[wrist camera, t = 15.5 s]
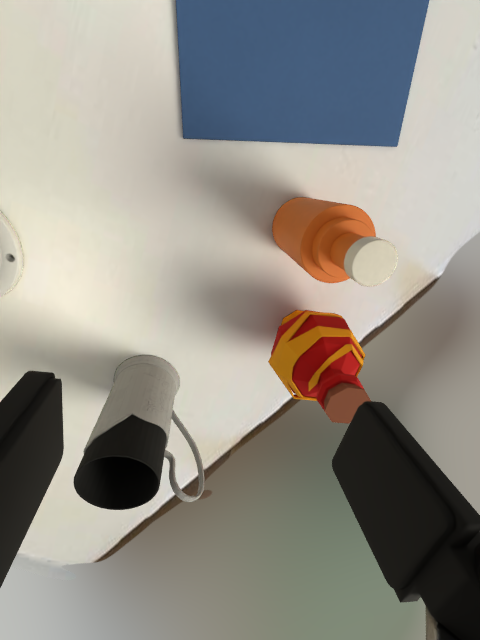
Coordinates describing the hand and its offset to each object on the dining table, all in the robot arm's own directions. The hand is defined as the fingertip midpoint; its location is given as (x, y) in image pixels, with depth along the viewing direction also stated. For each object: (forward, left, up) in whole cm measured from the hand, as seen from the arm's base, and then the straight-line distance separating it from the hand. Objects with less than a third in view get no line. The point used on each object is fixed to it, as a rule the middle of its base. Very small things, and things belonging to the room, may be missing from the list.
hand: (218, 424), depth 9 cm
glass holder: (-3, -21, -27) cm, 34 cm away
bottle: (+9, +5, -27) cm, 29 cm away
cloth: (+4, +21, -27) cm, 34 cm away
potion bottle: (+13, -8, -27) cm, 31 cm away
